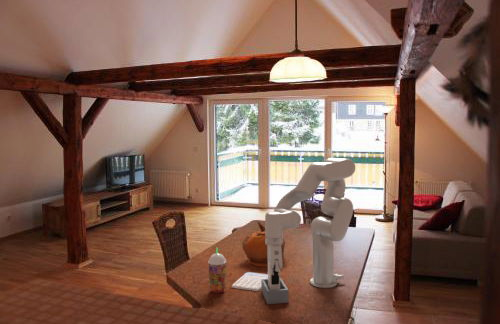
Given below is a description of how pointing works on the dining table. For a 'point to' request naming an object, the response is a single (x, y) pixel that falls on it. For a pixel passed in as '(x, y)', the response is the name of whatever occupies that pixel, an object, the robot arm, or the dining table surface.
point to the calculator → (250, 281)
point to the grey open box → (275, 293)
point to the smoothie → (217, 272)
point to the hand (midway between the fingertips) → (274, 281)
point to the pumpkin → (258, 248)
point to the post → (270, 286)
